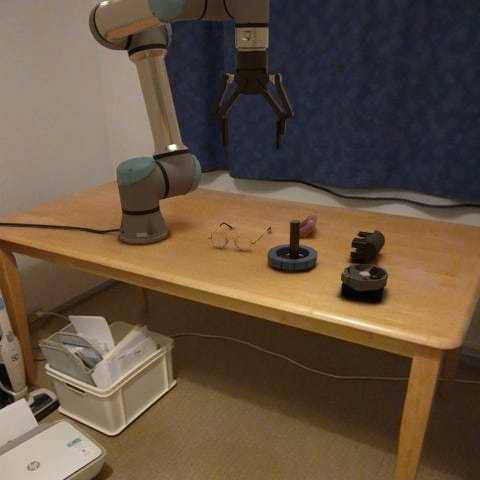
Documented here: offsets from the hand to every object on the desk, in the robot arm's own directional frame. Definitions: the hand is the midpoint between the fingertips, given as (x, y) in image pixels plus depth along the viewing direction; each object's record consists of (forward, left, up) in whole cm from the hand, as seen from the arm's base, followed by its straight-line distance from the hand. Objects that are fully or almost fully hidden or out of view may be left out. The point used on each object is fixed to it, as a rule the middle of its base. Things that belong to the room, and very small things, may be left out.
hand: (251, 147), depth 120 cm
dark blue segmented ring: (+11, -2, -29) cm, 31 cm away
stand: (+12, -2, -30) cm, 32 cm away
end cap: (+31, +6, -30) cm, 44 cm away
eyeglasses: (-7, +13, -30) cm, 34 cm away
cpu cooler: (+31, -16, -30) cm, 46 cm away
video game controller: (+12, +23, -30) cm, 40 cm away
